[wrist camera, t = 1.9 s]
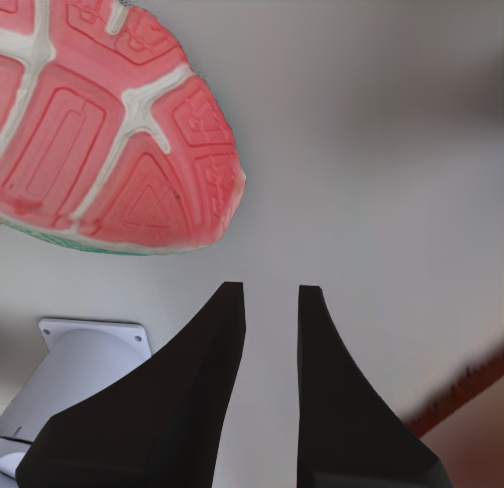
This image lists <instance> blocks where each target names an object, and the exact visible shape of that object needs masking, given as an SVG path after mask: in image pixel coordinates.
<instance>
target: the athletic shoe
mask: <svg viewBox="0 0 504 488" xmlns="http://www.w3.org/2000/svg"><path fill="white" fill-rule="evenodd" d="M245 180H246V175H245V173H244V171H243V169H242V168H241V166H240V159H239V155H238V152H237V148H236V145H235V141H234V137H233V133H232V128H231V127H230V126H229V124H228V123H227V122H226V119H225V117H224V115H223V113H222V111H221V110H220V108H219V107H218V105H217V103H216V101H215V99H214V97H213V95H212V93H211V91H210V90H209V88H208V86H207V84H206V82H205V81H204V80H203V79H202V78H201V77H200V76H198V75H197V74H196V73H195V72H194V71H193V69H192V68H191V67H190V65H189V63H188V60H187V58H186V56H185V53H184V51H183V49H182V46H181V45H180V44H179V43H178V41H177V40H176V39H175V38H174V37H173V35H172V34H171V33H170V32H169V30H168V29H166V28H165V27H163V26H162V25H161V24H160V23H159V21H158V20H157V19H156V17H155V16H154V15H152V14H151V13H149V12H148V11H147V10H145V9H142V8H139V7H137V6H134V5H129V6H124V5H122V4H121V3H120V2H119V0H0V224H3V225H6V226H9V227H11V228H14V229H17V230H19V231H21V232H24V233H26V234H28V235H31V236H33V237H35V238H38V239H40V240H43V241H46V242H49V243H52V244H55V245H58V246H62V247H67V248H72V249H76V250H81V251H87V252H97V253H106V254H117V255H138V256H147V255H164V256H166V255H170V254H178V253H185V252H190V251H194V250H198V249H202V248H206V247H209V246H212V245H213V244H214V243H216V242H217V241H218V240H220V239H221V237H222V236H223V234H224V232H225V231H226V229H227V228H228V226H229V224H230V222H231V219H232V217H233V215H234V213H235V211H236V209H237V207H238V205H239V203H240V201H241V199H242V195H243V191H244V187H245V184H244V183H245Z"/></svg>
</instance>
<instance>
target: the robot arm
mask: <svg viewBox="0 0 504 488" xmlns="http://www.w3.org/2000/svg"><path fill="white" fill-rule="evenodd" d="M38 326H39V328H40V331H41V333H42V335H43V337H44V340H45V342H46V344H47V347H48V349H49V351H50V352H49V353H48V355H47V356H46V357H45V358H44V360H43V361H42V362H41V364H40V365H39V366H38V368H37V369H36V370H35V371H34V373H33V374H32V375H31V377H30V378H29V379H28V381H27V382H26V383H25V384H24V386H23V387H22V388H21V390H20V391H19V392H18V394H17V395H16V396H15V397H14V399H13V400H12V401H11V403H10V404H9V405H8V407H7V408H6V409H5V410H4V412H3V413H2V414H1V416H0V488H212V482H213V476H214V470H215V464H216V459H217V453H218V447H219V442H220V436H221V431H222V427H223V422H224V418H225V414H226V411H227V407H228V404H229V400H230V397H231V393H232V390H233V386H234V383H235V379H236V376H237V372H238V369H239V365H240V361H241V358H242V352H243V346H244V340H245V333H246V320H245V306H244V292H243V282H224V283H223V284H221V286H220V287H219V288H218V289H217V291H216V292H215V293H214V294H213V296H212V297H211V298H210V299H209V300H208V302H207V303H206V304H205V305H204V306H203V307H202V309H201V310H200V311H199V312H198V313H197V314H196V315H195V316H194V317H193V318H192V319H191V321H190V322H189V323H188V324H187V325H186V326H185V327H184V328H183V329H182V330H181V331H180V332H179V333H178V334H176V335H175V336H174V337H173V338H172V339H171V340H170V341H169V342H168V343H167V344H166V345H165V346H163V347H162V348H161V349H160V350H159V351H158V352H156V353H155V354H154V355H153V356H151V351H150V347H149V343H148V339H147V335H146V331H145V329H144V328H143V327H142V326H141V325H136V324H121V323H107V322H92V321H77V320H62V319H47V318H44V319H41V321H40V322H39V323H38ZM138 336H139V337H138ZM297 367H298V388H299V408H300V420H299V438H298V456H297V488H453V485H452V483H451V481H450V479H449V476H448V474H447V472H446V470H445V468H444V466H443V464H442V462H441V460H440V458H438V456H436V455H435V454H434V453H433V452H432V451H431V450H430V449H429V448H428V447H427V446H426V445H425V444H423V443H422V442H421V441H420V440H419V439H418V438H417V437H416V436H415V435H414V434H413V433H412V432H411V431H410V430H409V429H408V428H407V426H406V425H405V424H404V423H403V422H402V421H401V420H400V419H399V418H398V417H397V416H396V415H395V414H394V412H393V411H392V410H391V409H390V408H389V407H388V405H387V404H386V403H385V402H384V401H383V399H382V398H381V397H380V396H379V395H378V394H377V392H376V391H375V390H374V389H373V387H372V386H371V384H370V383H369V382H368V380H367V379H366V378H365V376H364V375H363V373H362V372H361V371H360V369H359V368H358V366H357V365H356V363H355V362H354V360H353V358H352V357H351V355H350V353H349V352H348V350H347V348H346V347H345V345H344V343H343V341H342V339H341V337H340V336H339V334H338V331H337V329H336V327H335V325H334V323H333V321H332V319H331V316H330V314H329V311H328V309H327V306H326V303H325V300H324V297H323V292H322V289H321V288H320V287H319V286H306V285H300V286H299V297H298V345H297Z"/></svg>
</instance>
